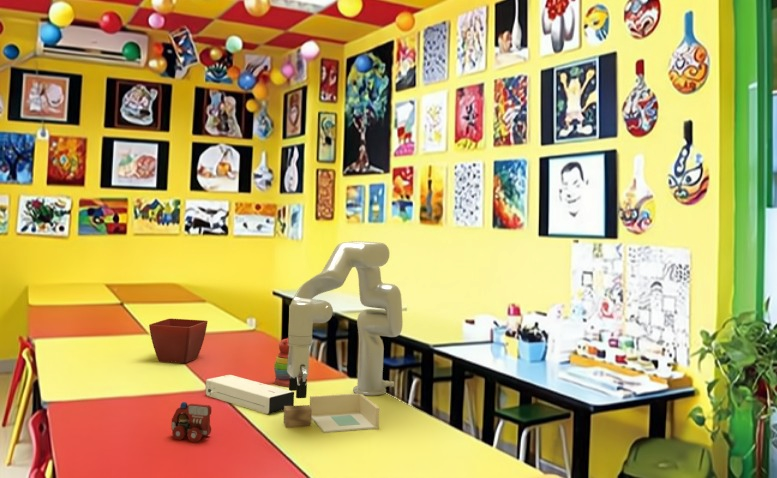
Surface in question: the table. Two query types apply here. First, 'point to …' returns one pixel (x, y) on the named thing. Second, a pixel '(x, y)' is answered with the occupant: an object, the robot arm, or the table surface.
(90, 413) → the table surface
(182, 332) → the plant pot
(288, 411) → the block
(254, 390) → the laminator
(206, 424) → the toy fire truck
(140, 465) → the table surface
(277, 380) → the stacking bear
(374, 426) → the arena
